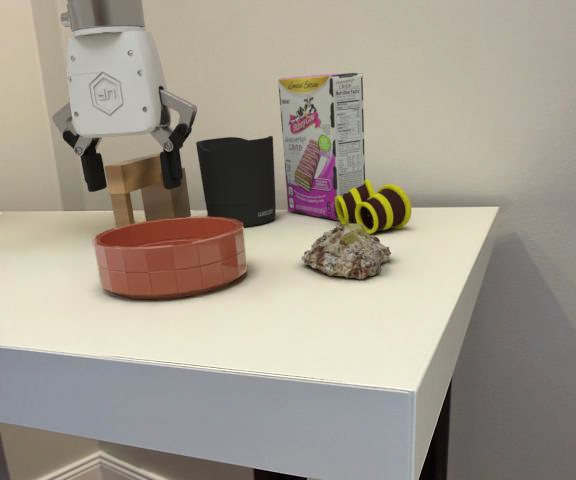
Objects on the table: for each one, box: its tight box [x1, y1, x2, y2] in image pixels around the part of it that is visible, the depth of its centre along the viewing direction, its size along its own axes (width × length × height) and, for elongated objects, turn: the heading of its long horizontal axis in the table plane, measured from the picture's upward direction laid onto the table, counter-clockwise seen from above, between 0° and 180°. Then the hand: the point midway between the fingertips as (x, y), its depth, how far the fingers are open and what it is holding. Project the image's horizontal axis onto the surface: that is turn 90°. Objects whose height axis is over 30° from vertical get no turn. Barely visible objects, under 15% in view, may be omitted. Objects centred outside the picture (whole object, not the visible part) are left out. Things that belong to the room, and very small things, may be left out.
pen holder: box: [195, 135, 277, 228], centre depth 82 cm, size 9×9×10 cm
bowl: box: [91, 215, 248, 300], centre depth 59 cm, size 13×13×4 cm
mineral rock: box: [301, 222, 392, 280], centre depth 60 cm, size 11×4×8 cm
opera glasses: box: [335, 178, 412, 235], centre depth 74 cm, size 10×5×5 cm, turn 22°
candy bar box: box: [277, 72, 366, 221], centre depth 82 cm, size 11×5×16 cm, turn 34°
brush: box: [104, 152, 192, 228], centre depth 78 cm, size 14×4×9 cm, turn 164°
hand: (135, 188), depth 76 cm, fingers open, 9 cm apart
